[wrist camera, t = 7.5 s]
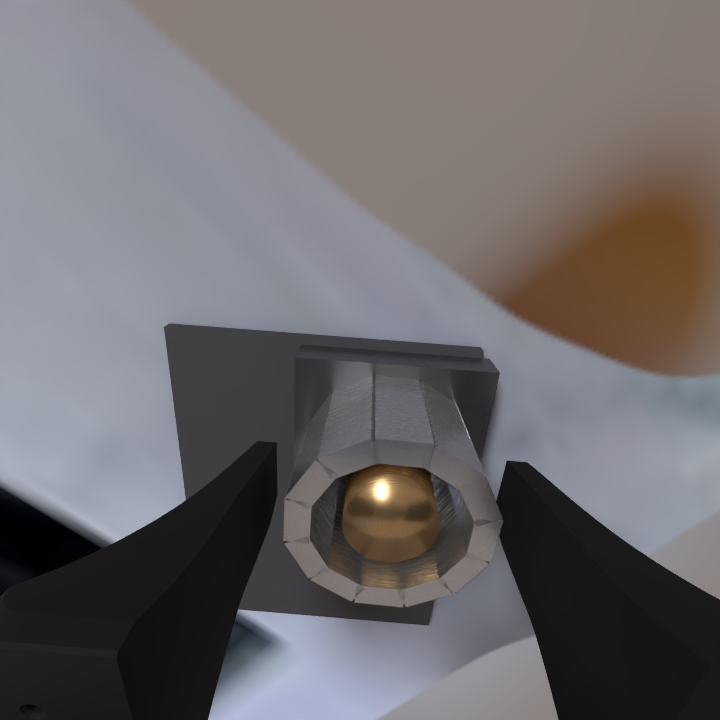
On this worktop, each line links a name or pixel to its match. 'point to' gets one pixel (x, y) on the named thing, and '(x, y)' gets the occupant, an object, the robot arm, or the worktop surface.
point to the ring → (394, 447)
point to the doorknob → (383, 481)
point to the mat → (269, 424)
